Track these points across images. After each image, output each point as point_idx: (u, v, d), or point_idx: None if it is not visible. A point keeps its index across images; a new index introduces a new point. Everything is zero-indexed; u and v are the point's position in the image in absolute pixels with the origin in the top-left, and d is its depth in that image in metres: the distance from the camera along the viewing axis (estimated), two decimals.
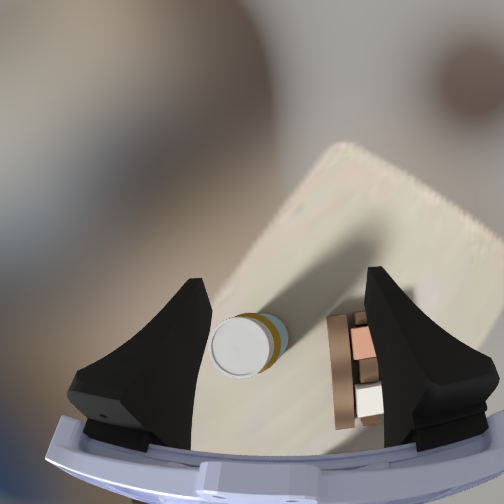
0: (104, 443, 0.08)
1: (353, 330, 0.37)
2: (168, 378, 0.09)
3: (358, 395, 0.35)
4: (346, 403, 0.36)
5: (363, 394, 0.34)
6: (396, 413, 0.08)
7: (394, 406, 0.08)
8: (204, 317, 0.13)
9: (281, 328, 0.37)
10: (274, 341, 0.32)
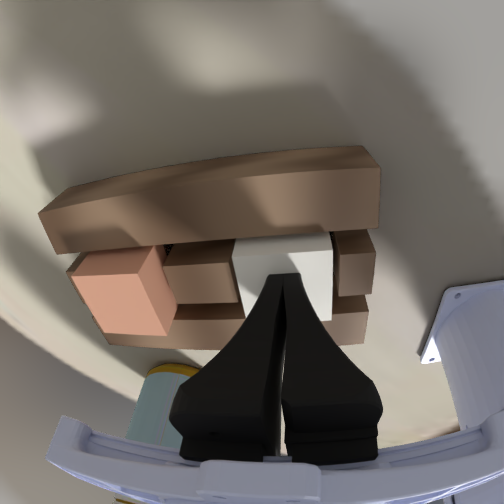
0: None
1: (105, 331, 0.15)
2: (274, 382, 0.09)
3: None
4: None
5: None
6: None
7: None
8: (285, 315, 0.13)
9: (139, 422, 0.19)
10: None
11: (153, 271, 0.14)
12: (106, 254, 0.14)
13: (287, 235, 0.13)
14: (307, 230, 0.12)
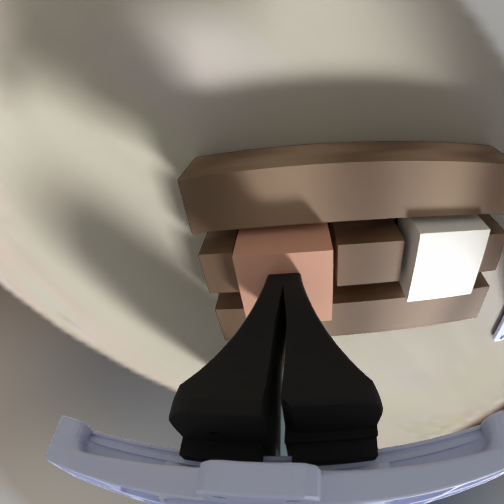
0: None
1: None
2: (274, 381, 0.09)
3: (422, 298, 0.14)
4: (433, 305, 0.15)
5: (424, 288, 0.13)
6: None
7: None
8: (285, 314, 0.13)
9: None
10: None
11: None
12: (268, 232, 0.14)
13: (450, 216, 0.12)
14: (469, 213, 0.12)
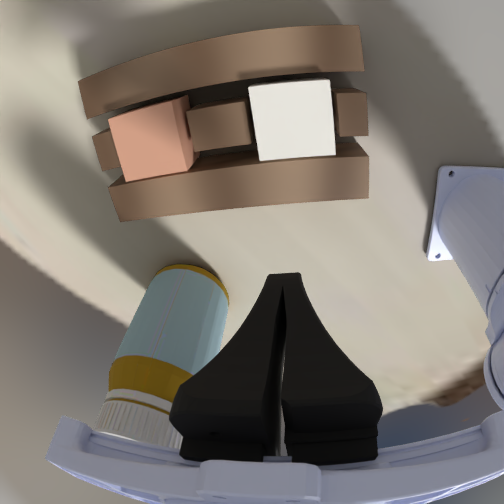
0: None
1: (127, 179, 0.17)
2: (274, 381, 0.09)
3: (275, 156, 0.16)
4: (302, 175, 0.17)
5: (273, 144, 0.15)
6: None
7: None
8: (285, 314, 0.13)
9: (141, 314, 0.20)
10: (129, 383, 0.16)
11: (181, 112, 0.16)
12: (140, 107, 0.16)
13: (292, 80, 0.14)
14: (308, 72, 0.14)
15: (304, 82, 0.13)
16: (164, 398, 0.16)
